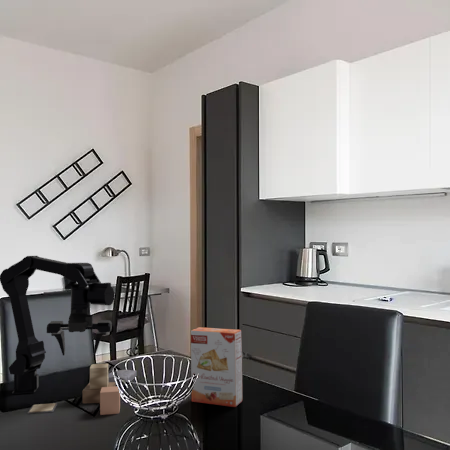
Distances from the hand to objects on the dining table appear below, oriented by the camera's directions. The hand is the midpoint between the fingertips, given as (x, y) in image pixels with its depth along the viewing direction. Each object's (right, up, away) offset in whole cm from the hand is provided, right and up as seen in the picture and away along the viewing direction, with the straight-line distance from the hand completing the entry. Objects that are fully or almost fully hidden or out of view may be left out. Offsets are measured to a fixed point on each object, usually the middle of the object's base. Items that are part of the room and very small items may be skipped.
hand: (79, 354), depth 147 cm
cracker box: (+42, -12, -9) cm, 45 cm away
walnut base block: (+7, -13, -3) cm, 15 cm away
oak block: (+7, -9, -3) cm, 11 cm away
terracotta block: (+13, -12, -15) cm, 23 cm away
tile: (-7, -12, -12) cm, 18 cm away
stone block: (+9, -13, +12) cm, 20 cm away
